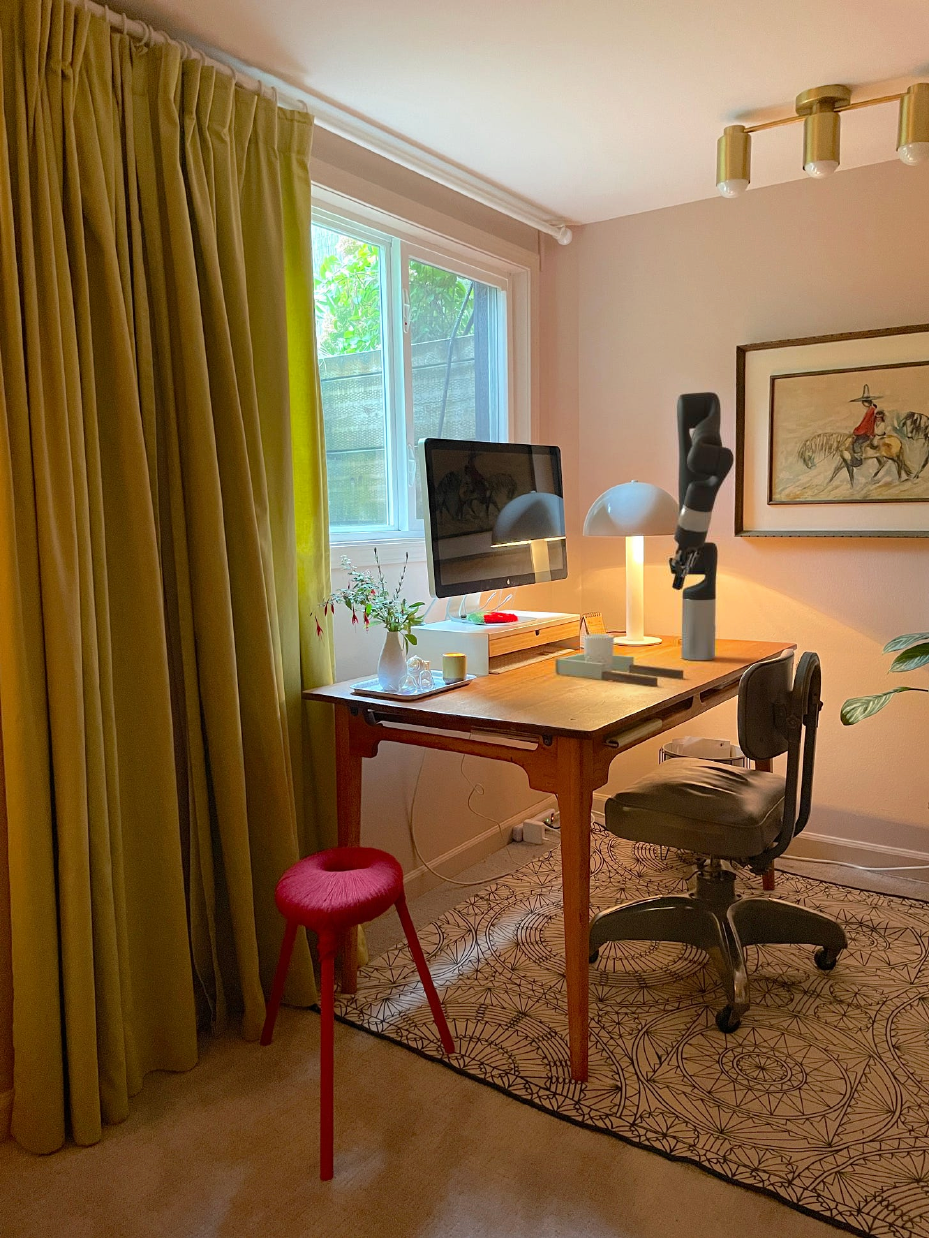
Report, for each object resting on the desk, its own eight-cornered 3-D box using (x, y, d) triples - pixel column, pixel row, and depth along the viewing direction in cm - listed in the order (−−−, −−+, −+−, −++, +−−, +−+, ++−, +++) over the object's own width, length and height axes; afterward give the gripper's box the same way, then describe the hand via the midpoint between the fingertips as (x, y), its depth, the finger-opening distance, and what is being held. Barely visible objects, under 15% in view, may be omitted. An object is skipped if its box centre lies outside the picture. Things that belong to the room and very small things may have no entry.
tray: (588, 666, 259) (588, 651, 258) (633, 671, 249) (633, 656, 249) (555, 673, 247) (555, 658, 247) (601, 679, 238) (601, 664, 237)
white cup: (577, 673, 248) (577, 635, 247) (599, 670, 253) (600, 633, 252) (597, 677, 242) (597, 638, 241) (619, 674, 246) (620, 636, 245)
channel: (632, 671, 249) (632, 664, 249) (683, 678, 239) (683, 670, 239) (601, 679, 238) (601, 671, 238) (654, 686, 228) (654, 678, 228)
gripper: (692, 515, 238) (676, 577, 245) (667, 524, 228) (651, 589, 235) (719, 524, 234) (701, 587, 241) (694, 535, 224) (677, 600, 232)
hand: (676, 588), depth 238 cm, fingers closed
